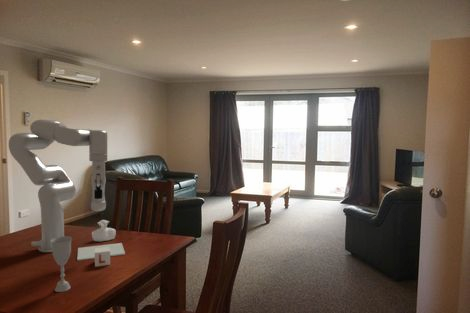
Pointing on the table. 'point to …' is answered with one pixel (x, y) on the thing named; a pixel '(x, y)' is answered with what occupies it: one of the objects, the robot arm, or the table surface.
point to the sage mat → (89, 252)
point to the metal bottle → (98, 203)
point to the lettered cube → (102, 256)
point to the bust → (103, 232)
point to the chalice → (61, 258)
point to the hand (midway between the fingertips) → (98, 196)
